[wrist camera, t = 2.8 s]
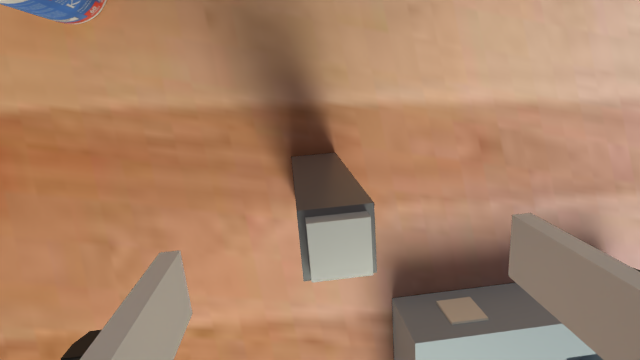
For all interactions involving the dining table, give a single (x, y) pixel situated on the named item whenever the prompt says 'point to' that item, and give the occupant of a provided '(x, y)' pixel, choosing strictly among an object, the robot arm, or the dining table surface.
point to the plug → (333, 220)
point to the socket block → (481, 327)
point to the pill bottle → (59, 9)
